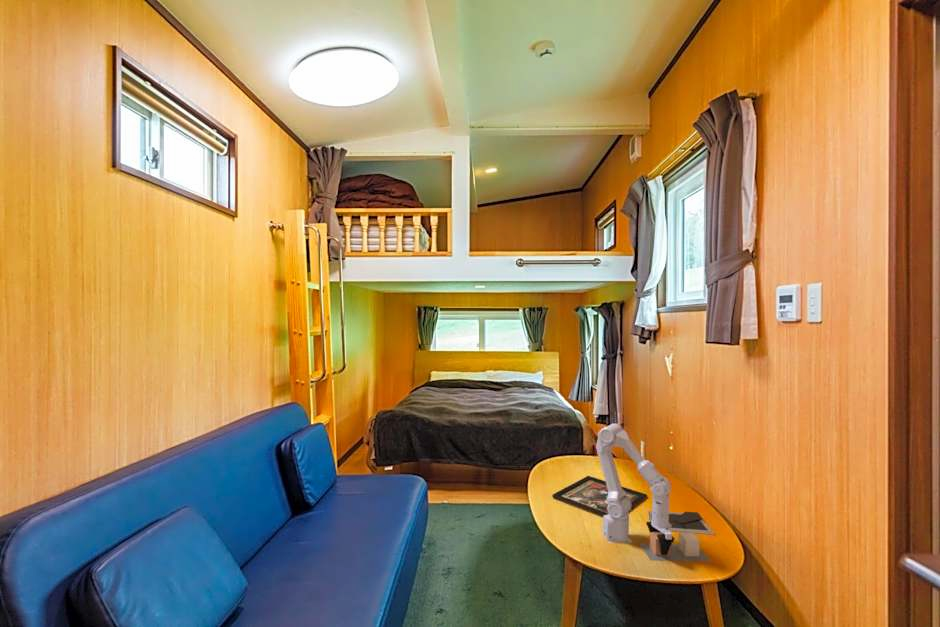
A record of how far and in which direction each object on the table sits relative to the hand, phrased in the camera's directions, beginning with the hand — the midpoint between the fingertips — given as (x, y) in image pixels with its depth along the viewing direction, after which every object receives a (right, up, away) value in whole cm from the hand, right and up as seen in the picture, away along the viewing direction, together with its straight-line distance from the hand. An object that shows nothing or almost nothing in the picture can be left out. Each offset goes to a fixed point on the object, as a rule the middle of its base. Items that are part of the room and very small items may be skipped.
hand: (659, 548), depth 159 cm
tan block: (+11, -2, 0) cm, 11 cm away
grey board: (+5, -2, 0) cm, 6 cm away
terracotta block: (0, -1, 0) cm, 1 cm away
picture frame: (+18, -3, +22) cm, 29 cm away
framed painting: (-8, -2, +46) cm, 47 cm away
